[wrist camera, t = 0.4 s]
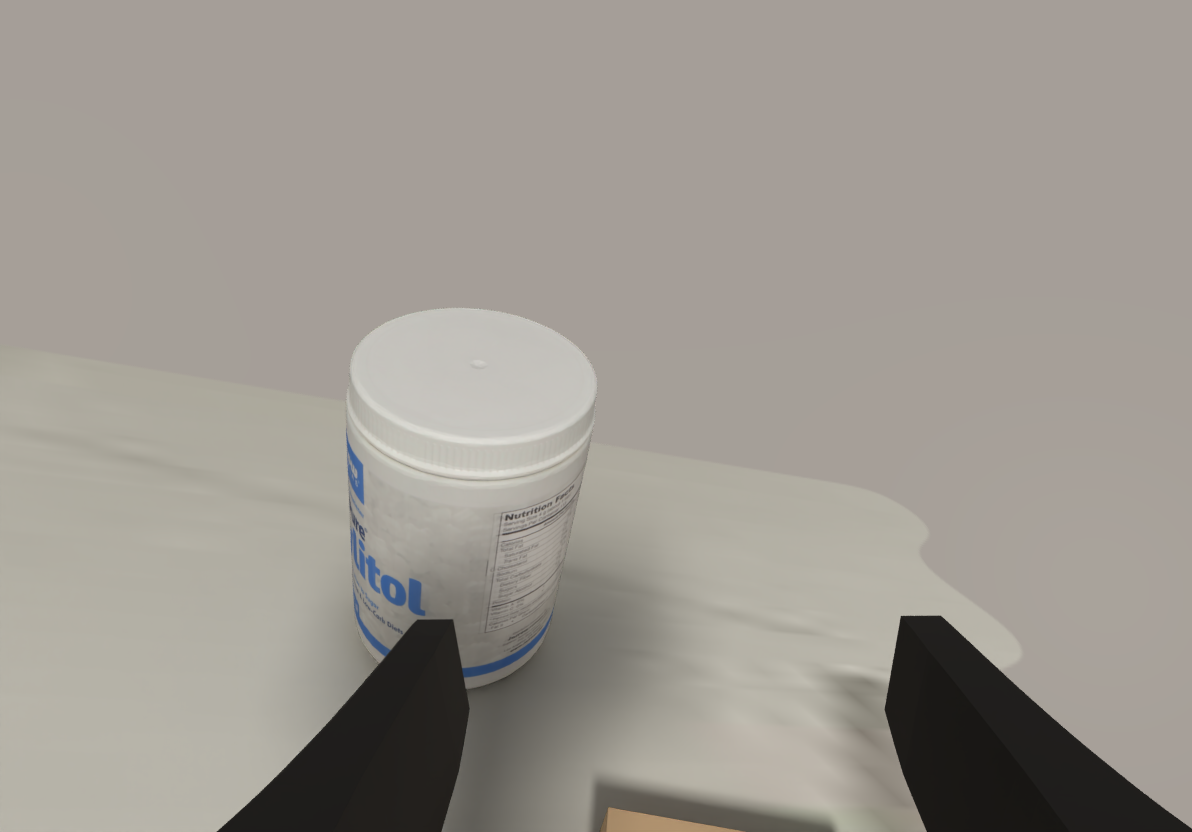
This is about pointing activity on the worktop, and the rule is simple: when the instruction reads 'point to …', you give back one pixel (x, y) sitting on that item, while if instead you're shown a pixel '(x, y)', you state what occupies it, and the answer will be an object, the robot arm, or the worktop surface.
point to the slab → (651, 823)
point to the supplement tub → (464, 479)
